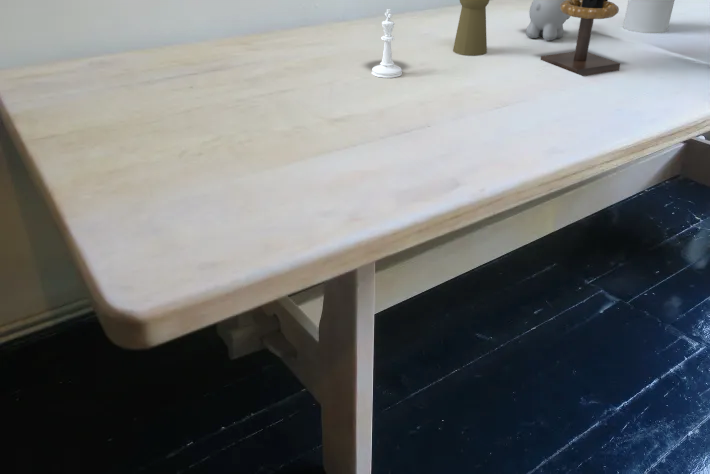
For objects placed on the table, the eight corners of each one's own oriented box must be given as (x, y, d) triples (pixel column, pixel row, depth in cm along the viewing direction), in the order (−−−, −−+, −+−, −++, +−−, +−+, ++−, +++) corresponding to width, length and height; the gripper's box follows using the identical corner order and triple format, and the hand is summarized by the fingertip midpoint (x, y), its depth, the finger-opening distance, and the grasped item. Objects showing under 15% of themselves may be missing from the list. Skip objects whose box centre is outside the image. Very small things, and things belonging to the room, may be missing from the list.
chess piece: (379, 79, 104) (381, 13, 99) (366, 71, 108) (367, 7, 103) (407, 75, 106) (410, 11, 101) (393, 67, 110) (395, 5, 105)
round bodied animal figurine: (583, 33, 131) (591, -12, 127) (551, 44, 124) (559, -4, 119) (551, 27, 135) (557, -17, 131) (518, 37, 128) (524, -9, 124)
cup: (669, 33, 131) (685, -32, 125) (661, 41, 125) (677, -26, 119) (627, 27, 135) (640, -36, 129) (617, 36, 129) (630, -30, 123)
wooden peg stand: (619, 70, 109) (630, 12, 104) (576, 77, 106) (586, 17, 101) (581, 57, 116) (590, 2, 111) (539, 63, 113) (548, 6, 108)
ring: (628, 16, 105) (631, 6, 104) (586, 22, 102) (588, 11, 101) (589, 5, 112) (591, -5, 111) (548, 10, 108) (549, 0, 108)
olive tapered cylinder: (466, 45, 123) (472, -18, 117) (493, 51, 119) (500, -14, 114) (446, 50, 119) (450, -14, 114) (473, 57, 116) (479, -9, 110)
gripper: (630, -115, 92) (604, 21, 102) (653, -119, 104) (628, 3, 113) (576, -116, 96) (556, 15, 105) (604, -120, 107) (584, -1, 117)
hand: (593, 8), depth 109 cm, fingers closed on ring, 2 cm apart
